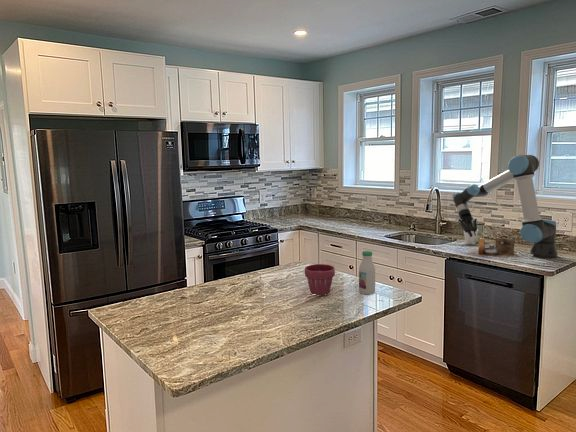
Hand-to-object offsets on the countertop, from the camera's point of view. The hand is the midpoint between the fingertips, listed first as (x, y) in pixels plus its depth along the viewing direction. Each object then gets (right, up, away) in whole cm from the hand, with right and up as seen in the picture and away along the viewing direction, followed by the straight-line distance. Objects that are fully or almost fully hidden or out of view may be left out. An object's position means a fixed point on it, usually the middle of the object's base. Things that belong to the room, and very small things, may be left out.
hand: (474, 240), depth 290 cm
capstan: (+6, -8, -6) cm, 12 cm away
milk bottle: (-85, -21, -78) cm, 117 cm away
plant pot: (-107, -21, -78) cm, 134 cm away
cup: (+8, -5, +27) cm, 29 cm away
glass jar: (+17, -3, +38) cm, 42 cm away
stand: (+7, -9, -6) cm, 13 cm away
